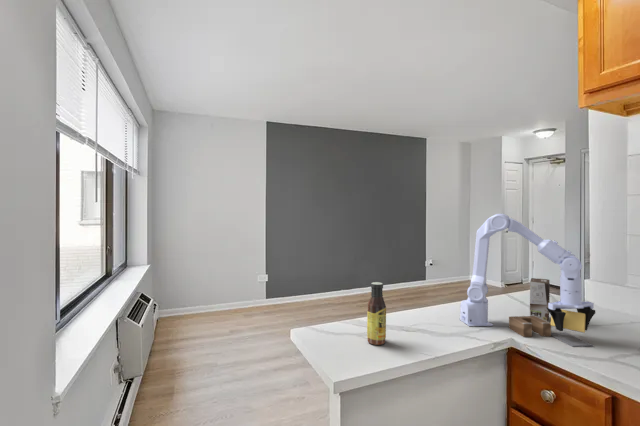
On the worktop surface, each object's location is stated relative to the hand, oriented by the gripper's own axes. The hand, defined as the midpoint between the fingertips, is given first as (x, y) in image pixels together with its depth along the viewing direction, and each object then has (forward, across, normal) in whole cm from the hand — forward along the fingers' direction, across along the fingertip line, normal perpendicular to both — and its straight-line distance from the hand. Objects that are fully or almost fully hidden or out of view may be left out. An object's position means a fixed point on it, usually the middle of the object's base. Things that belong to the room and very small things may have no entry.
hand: (571, 329), depth 110 cm
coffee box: (+4, +4, +20) cm, 21 cm away
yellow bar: (0, -1, 0) cm, 1 cm away
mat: (+3, -1, 0) cm, 4 cm away
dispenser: (+3, -10, +7) cm, 13 cm away
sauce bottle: (+2, -67, +2) cm, 67 cm away
